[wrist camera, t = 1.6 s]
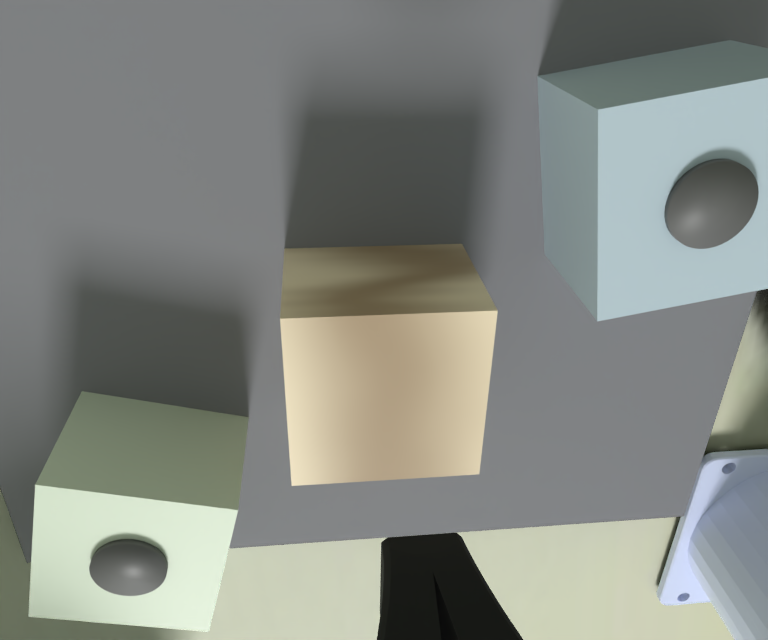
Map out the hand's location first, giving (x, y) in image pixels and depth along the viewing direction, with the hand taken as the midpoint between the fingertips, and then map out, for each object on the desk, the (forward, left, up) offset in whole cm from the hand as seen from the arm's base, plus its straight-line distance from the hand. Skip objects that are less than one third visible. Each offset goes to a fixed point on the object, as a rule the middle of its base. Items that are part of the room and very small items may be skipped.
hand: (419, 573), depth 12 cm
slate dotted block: (-7, -5, -9) cm, 13 cm away
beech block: (0, 0, -9) cm, 9 cm away
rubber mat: (0, 0, -10) cm, 10 cm away
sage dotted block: (+7, +5, -9) cm, 13 cm away
